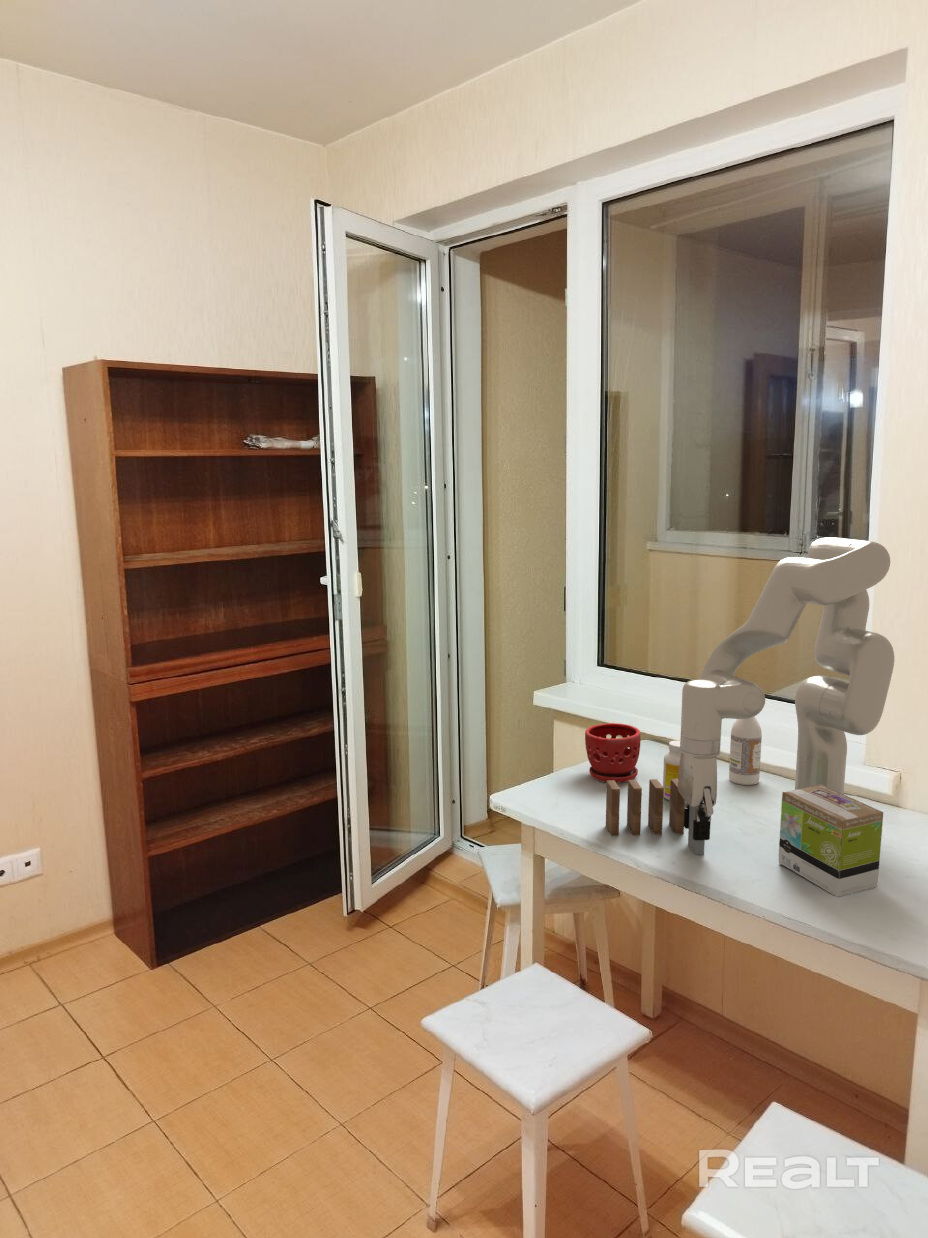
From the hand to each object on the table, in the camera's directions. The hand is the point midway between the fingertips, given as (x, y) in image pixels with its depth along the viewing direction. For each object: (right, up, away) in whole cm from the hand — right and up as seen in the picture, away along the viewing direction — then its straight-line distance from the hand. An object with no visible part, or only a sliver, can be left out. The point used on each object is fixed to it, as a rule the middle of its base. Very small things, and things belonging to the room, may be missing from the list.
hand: (696, 832), depth 176 cm
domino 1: (-15, -2, +10) cm, 18 cm away
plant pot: (-10, +3, +41) cm, 43 cm away
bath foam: (+21, +3, +39) cm, 44 cm away
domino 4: (-2, -2, +11) cm, 11 cm away
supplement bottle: (+3, +1, +28) cm, 28 cm away
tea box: (+21, -6, -11) cm, 24 cm away
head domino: (0, -3, +1) cm, 4 cm away
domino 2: (-10, -2, +10) cm, 15 cm away
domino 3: (-6, -2, +10) cm, 12 cm away
